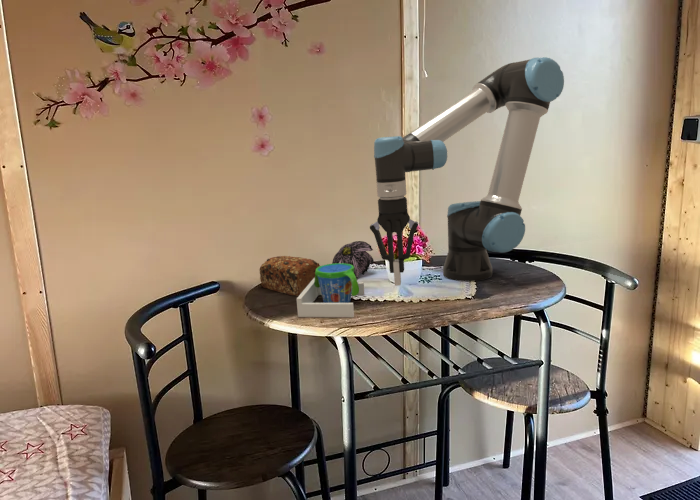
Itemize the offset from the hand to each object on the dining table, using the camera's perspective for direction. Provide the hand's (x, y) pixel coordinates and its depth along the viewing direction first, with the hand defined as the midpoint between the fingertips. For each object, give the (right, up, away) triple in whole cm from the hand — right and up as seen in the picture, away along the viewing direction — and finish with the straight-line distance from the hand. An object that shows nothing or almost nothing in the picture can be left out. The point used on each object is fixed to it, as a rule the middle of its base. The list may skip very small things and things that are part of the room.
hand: (397, 283), depth 147 cm
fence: (-17, -6, +3) cm, 19 cm away
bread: (-31, -3, +21) cm, 38 cm away
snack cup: (-16, -6, +4) cm, 18 cm away
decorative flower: (-12, +1, +33) cm, 35 cm away
